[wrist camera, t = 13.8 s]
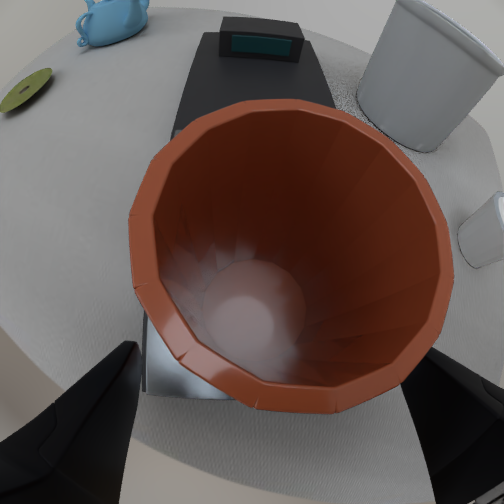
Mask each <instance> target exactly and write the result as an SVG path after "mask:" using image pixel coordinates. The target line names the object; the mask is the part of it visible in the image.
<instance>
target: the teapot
mask: <svg viewBox="0 0 504 504" xmlns="http://www.w3.org/2000/svg"><path fill="white" fill-rule="evenodd" d="M85 2H86V3H87V5H88V12H87V13H84V14H83V15H81V16H80V17H79V18H78V20H77V21H76V29H77V30H78V32H79V33H80V35H81V36H82V37H81V38H79V39H78V41H77V45H78V46H79V47H83V46H86V45H87V44H90V45H92V46H104V45H108V44H112V43H115V42H118V41H121V40H124V39H126V38H128V37H130V36H132V35H134V34H136V33H138V32H139V31H140V30H141V29H142V28H143V27H144V25H145V24H146V22H147V20H148V15H147V12H146V10H147V8H148V6H149V0H102V1H100V2H98V3H96V4H95V2H94V1H93V0H85ZM85 17H86V19H85V21H84V25H83V29H82V27H81V21H82V19H83V18H85ZM82 39H83V40H84V42H83V43H81V40H82Z"/></svg>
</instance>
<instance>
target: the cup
mask: <svg viewBox="0 0 504 504" xmlns="http://www.w3.org/2000/svg"><path fill="white" fill-rule="evenodd" d="M128 228H129V247H130V261H131V273H132V283H133V288H134V289H135V294H136V296H137V298H138V300H139V301H140V303H141V305H142V307H143V308H144V310H145V312H146V314H147V315H148V317H149V319H150V321H151V322H152V324H153V326H154V327H155V329H156V330H157V332H158V334H159V335H160V337H161V339H162V340H163V342H164V343H165V345H166V346H167V348H168V350H169V351H170V353H171V354H172V356H173V357H174V359H175V360H177V361H178V363H179V364H180V365H181V366H183V367H184V368H186V369H187V370H189V371H190V372H192V373H193V374H195V375H196V376H198V377H199V378H201V379H202V380H204V381H205V382H207V383H209V384H210V385H212V386H213V387H215V388H217V389H218V390H220V391H222V392H223V393H225V394H227V395H228V396H230V397H232V398H234V399H235V400H237V401H239V402H241V403H242V404H244V405H246V406H248V407H250V408H253V407H254V408H255V409H257V410H266V411H276V412H288V413H304V414H334V413H339V412H342V411H344V410H347V409H349V408H352V407H354V406H357V405H359V404H361V403H363V402H366V401H368V400H370V399H372V398H374V397H376V396H379V395H381V394H383V393H385V392H387V391H389V390H391V389H393V388H395V387H397V386H398V385H399V384H400V383H402V382H403V381H404V380H405V379H406V378H407V377H408V375H409V374H410V373H411V372H412V371H413V369H414V368H415V367H416V366H417V365H418V363H419V362H420V361H421V360H422V358H423V357H424V356H425V355H426V353H427V352H428V351H429V349H430V348H431V347H432V345H433V344H434V343H435V341H436V340H437V339H438V337H439V334H440V333H441V330H442V327H443V324H444V320H445V317H446V313H447V309H448V305H449V301H450V297H451V293H452V288H453V284H454V280H453V279H454V268H453V258H452V249H451V242H450V235H449V228H448V226H447V222H446V219H445V217H444V215H443V213H442V210H441V208H440V206H439V204H438V202H437V200H436V197H435V195H434V193H433V191H432V189H431V187H430V185H429V183H428V182H427V180H426V178H424V175H423V174H422V173H421V172H420V171H419V169H418V168H417V167H416V166H415V165H414V164H413V163H412V162H411V160H410V159H409V158H408V157H407V156H406V155H405V154H404V153H403V152H402V151H401V150H400V149H399V148H398V146H397V145H396V144H395V143H394V142H393V141H392V140H389V138H388V137H387V136H385V135H383V134H382V133H380V132H379V131H377V130H376V129H374V128H372V127H371V126H369V125H367V124H366V123H364V122H362V121H361V120H359V119H357V118H356V117H354V116H352V115H350V114H349V113H345V112H344V111H341V110H338V109H334V108H331V107H327V106H324V105H320V104H316V103H312V102H308V101H304V100H300V99H261V100H246V101H241V102H238V103H235V104H233V105H230V106H227V107H225V108H222V109H219V110H217V111H214V112H212V113H209V114H207V115H204V116H202V117H199V118H197V119H195V121H192V122H191V123H190V124H189V125H187V126H186V127H185V128H184V129H183V130H182V131H181V132H180V133H178V134H177V135H176V136H175V137H174V138H173V139H172V140H171V141H170V142H169V143H168V144H167V145H166V146H164V147H163V148H162V149H161V150H160V151H159V152H158V153H157V154H156V155H155V156H154V158H153V159H152V160H151V163H150V165H149V167H148V169H147V171H146V174H145V176H144V178H143V181H142V183H141V185H140V188H139V190H138V193H137V195H136V198H135V200H134V203H133V205H132V208H131V210H130V213H129V219H128Z"/></svg>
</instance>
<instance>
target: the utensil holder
mask: <svg viewBox="0 0 504 504" xmlns="http://www.w3.org/2000/svg"><path fill="white" fill-rule="evenodd" d="M502 75H504V64H503V63H502V62H501V60H500V59H499V58H498V57H497V56H496V55H495V54H494V53H493V52H492V51H491V50H490V49H489V48H488V47H487V46H486V45H485V44H484V43H482V41H480V40H479V39H478V38H477V37H476V36H474V35H473V34H472V33H471V32H469V31H468V30H467V29H466V28H464V27H463V26H462V25H460V24H459V23H458V22H456V21H455V20H454V19H452V18H451V17H449V16H448V15H446V14H445V13H443V12H441V11H440V10H438V9H437V8H435V7H433V6H432V5H430V4H428V3H427V2H425V1H423V0H396V3H395V5H394V7H393V9H392V12H391V14H390V16H389V18H388V20H387V23H386V25H385V27H384V30H383V32H382V34H381V36H380V38H379V41H378V43H377V45H376V47H375V50H374V52H373V54H372V56H371V59H370V61H369V63H368V66H367V68H366V70H365V73H364V75H363V78H362V80H361V82H360V85H359V87H358V90H357V99H358V102H359V105H360V107H361V109H362V110H363V112H364V113H365V114H366V116H367V117H368V118H369V119H370V120H371V121H372V122H373V123H374V124H375V125H376V126H377V127H378V128H379V129H380V130H382V131H383V132H384V133H385V134H387V135H388V136H389V137H391V138H392V139H394V140H395V141H397V142H399V143H400V144H402V145H404V146H406V147H408V148H411V149H413V150H416V151H420V152H431V151H433V150H435V149H436V148H437V147H438V146H439V145H440V144H441V143H442V142H443V141H444V140H445V139H446V138H447V136H448V135H449V134H450V133H451V132H452V131H453V130H454V129H455V128H456V127H457V126H458V125H459V124H460V123H461V122H462V120H463V119H464V118H465V117H466V116H467V115H468V113H469V112H470V111H471V110H472V109H473V107H474V106H475V105H476V104H477V103H478V102H479V101H480V100H481V98H482V97H483V96H484V95H485V94H486V92H487V91H488V90H489V89H490V88H491V86H492V85H493V83H494V82H495V81H496V80H497V78H498V77H499V76H502Z"/></svg>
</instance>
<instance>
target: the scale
mask: <svg viewBox="0 0 504 504" xmlns="http://www.w3.org/2000/svg"><path fill="white" fill-rule="evenodd" d="M261 99H300V100H304V101H308V102H312V103H316V104H320V105H324V106H327V107H331V108H334V109H336V107H335V104H334V101H333V98H332V95H331V92H330V90H329V87H328V84H327V82H326V79H325V76H324V74H323V71H322V69H321V66H320V64H319V61H318V59H317V57H316V54H315V52H314V50H313V47H312V45H311V43H310V41H307V40H305V38H304V36H303V34H302V31H301V29H300V27H299V25H298V23H293V22H286V21H278V20H270V19H260V18H247V17H223V20H222V24H221V27H220V32H204V33H203V36H202V38H201V41H200V44H199V46H198V49H197V52H196V55H195V58H194V60H193V63H192V66H191V69H190V72H189V75H188V78H187V81H186V85H185V88H184V91H183V94H182V98H181V101H180V105H179V108H178V112H177V115H176V119H175V123H174V127H173V131H172V135H171V139H170V141H171V140H172V139H173V138H174V137H175V136H176V135H177V134H178V133H180V132H181V131H182V130H183V129H184V128H185V127H186V126H187V125H189V124H190V123H191V122H192V121H195V119H197V118H199V117H202V116H204V115H207V114H209V113H212V112H214V111H217V110H219V109H222V108H225V107H227V106H230V105H233V104H235V103H238V102H241V101H246V100H261ZM142 360H143V367H142V392H146V394H147V395H155V396H164V397H175V398H188V399H206V400H235V399H234V398H232V397H230V396H228V395H227V394H225V393H223V392H222V391H220V390H218V389H217V388H215V387H213V386H212V385H210V384H209V383H207V382H205V381H204V380H202V379H201V378H199V377H198V376H196V375H195V374H193V373H192V372H190V371H189V370H187V369H186V368H184V367H183V366H181V365H180V364H179V363H178V361H177V360H175V359H174V357H173V356H172V354H171V353H170V351H169V350H168V348H167V346H166V345H165V343H164V342H163V340H162V339H161V337H160V335H159V334H158V332H157V330H156V329H155V327H154V326H153V324H152V322H151V321H150V319H149V317H148V315H147V314H146V312H145V310H144V319H143V340H142Z"/></svg>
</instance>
